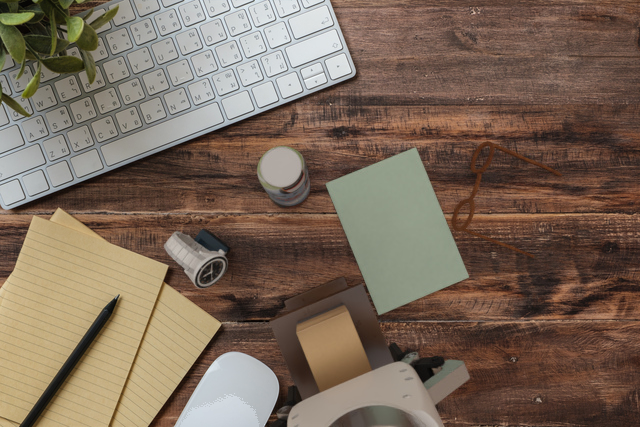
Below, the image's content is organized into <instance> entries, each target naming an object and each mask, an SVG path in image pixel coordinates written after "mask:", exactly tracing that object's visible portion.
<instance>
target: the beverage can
mask: <svg viewBox="0 0 640 427" xmlns="http://www.w3.org/2000/svg"><path fill="white" fill-rule="evenodd" d="M256 174H257V178H258V181H259V183H260V185H261V187H262V188H263V190H264V191H265V192H266V194H267V196H268V197H269V199H270V201H271V202H272V203H273V205H275V206H277V207H279V208H281V209H285V210H291V209H296V208H298V207H300V206H302V205H303V204H304V203H305V202H306V201H307V200H308V198H309V196H310V194H311V189H312V188H311V187H312V186H311V181H310V175H309V168H308V165H307V161H306V159H305V157H304V156H303V155H302V153H301V152H300V151H299V150H297V149H296V148H293V147H292V146H291V147H290V146H288V145H277V146H274V147H272V148H269V149H268V150H267V151H265V152H264V153H263V154H262V155H261V157H260V159H259V160H258V163H257V168H256Z"/></svg>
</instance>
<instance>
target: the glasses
mask: <svg viewBox="0 0 640 427" xmlns="http://www.w3.org/2000/svg"><path fill="white" fill-rule="evenodd" d="M486 147H489V154H488V157H487V159H486V161H485V163H484V164H483V165H481V166H482V167H480V168H476V162H477V158H478V157H479V155H480V153H481V151H482V150H483V149H484V148H486ZM495 149H496V150H499V151H501V152H503V153H505V154H507V155H510V156H512V157H514V158H517V159H519V160H521V161H523V162H525V163H529V164H531V165H534V166H536V167H538V168H540V169H544V170H546V171H548V172H550V173H552V174H554V175H555V176H558V177H562V176H563V174H562V172H560V171H557V170H556V169H554V168H551V167H549V166H547V165H546V164H543V163H541V162H538V161H536V160H534V159H531V158H529V157H526V156H525V155H522V154H520V153H517V152H515V151H513V150H510V149H508V148H506V147H503V146H501V145H499V144H497V143H494V142H492V141H490V140H485V141H483V142H481V144H479V146H478V147H477V148H476V149H475V151H474V153H473V155H472V157H471V161H470V171H471V172H472V173H474V174H476V179H475V182H474V185H473V188H472V192H471V194H470V195H469V197H468V198H465V199H462V200H461V201H459V202H458V204H457V205H456V207H455V209H454V211H453V213H452V218H451V227H452V229H453V230H454V231H456V232H464V233H467V234H470V235H472V236H475V237H477V238H480V239H483V240H485V241H488V242H491V243H493V244H496V245H498V246H502V247H504V248H507V249H509V250H512V251H515V252H517V253H520V254H523V255H525V256H528V257H529V258H532V259H534V258H535V255H534V254H533V253H530V252H528V251H524V250H522V249H519V248H517V247H515V246H512V245H510V244H507V243H504V242H502V241H499V240H497V239H493V238H491V237H488V236H486V235H483V234H481V233H478V232H476V231H473V230H471V229H468V227H469V226H470V224H471V222H472V220H473V218H474V215H475V210H476V203H475V200H474V199H475V197H476V195H477V193H478V190H479V188H480V184H481V181H482V175H483V174H484V172H486V170H487V169H488V168H489V166H490V164H491V163H492V161H493V159H494V156H495V151H496V150H495ZM466 204H469V213H468V216H467V218H466V220H465V222H464V223H463V224H462V225H460V226H458V225H457V218H458V215H459V212H460V210H461V209H462V207H463V206H464V205H466Z"/></svg>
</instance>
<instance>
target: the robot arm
mask: <svg viewBox="0 0 640 427" xmlns="http://www.w3.org/2000/svg"><path fill="white" fill-rule="evenodd" d="M388 347H389V350H390V352H391V355H392V357H393V360H394V363H391V364H388V365H385V366H383V367H380V368H378V369H375V370H373V371H370V372H368V373H365V374H363V375H361V376H358V377H356V378H353V379H351V380H349V381H346V382H344V383H342V384H339V385H337V386H335V387H332V388H330V389H328V390H325V391H323V392H321V393H318V394H316V395H314V396H312V397H309V398H307V399H305V400H302V398H301V396H300V393H299V391H298V388H297V386H294V384H292V385H289V386H288V387H287V395H286V397H287V398H286V401H284V402H283V406H282V407H280V408H279V409H278V410H277V411H276V412H275V414H276V417H277V418H276V420H274V421H273V422H272V423H271V424H270V425H268V426H267V427H446V426H445V425H444V423H443V420H442V418H441V416H440V414H439V411H438V410H437V408H436V405H437V404H438V403H440V402H441V401H443V400H444V399H445V398H447V397H448V396H449V395H451V394H452V393H453V392H454V391H455V390H457V389H458V388H460V387H461V386H462V385H464V384H465V383H467V382H468V381H469V380H470V379H471V375H470V373H469V370H468V367H467V365H466V363H465V361H464V360H460V359H459V360H458V359H447V360H445V359H444V356H441V355H434V356H428V357H420V354H419V353H418V351H414V352H411V351H409V350H408V349H407V350H405V351H403V350H402V349H401V348H400V346H399V345H398V344H397V343H396V341H394V342H392V343H389V345H388Z"/></svg>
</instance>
